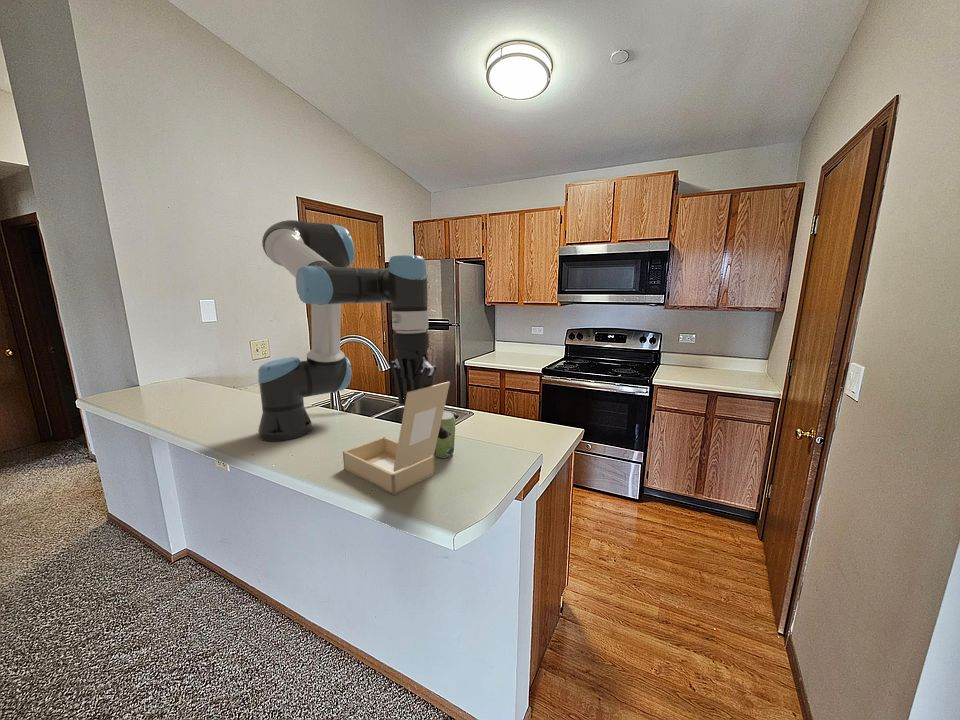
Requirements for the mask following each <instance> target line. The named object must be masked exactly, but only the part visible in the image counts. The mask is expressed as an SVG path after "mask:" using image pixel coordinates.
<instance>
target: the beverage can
mask: <svg viewBox="0 0 960 720" xmlns="http://www.w3.org/2000/svg"><path fill="white" fill-rule="evenodd" d="M454 415H455V414H454V413H453V412H451V411H448V410H444V412H443V416H442V421H441V425H440V430H439V434H438V439H437V443H436V448H435V452H434V454H433V456H435V457H437V458H442V459H444V458H449V457H450V456H452V455H453V454H454V452H455V439H456V438H455V436H456V435H455V434H456V418H455V416H454Z"/></svg>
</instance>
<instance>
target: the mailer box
mask: <svg viewBox="0 0 960 720" xmlns="http://www.w3.org/2000/svg"><path fill="white" fill-rule="evenodd" d="M397 447H398V441H396V440H394V439H391V438H388V437H386V436H383V437H380V438H378V439H377V438H376V439H374V440H372V441H369V442H365V443H363V444H360V445H358V446H357V445H356V446H354V447H352V448H349V449H346V450H343V451H342V459H343V469H344V470H345V471H347V472H349V473H351V474H353V475H355V476H356V477H359V478H360V479H362V480H365V481H366V482H367V483H370V484H372V485H374V486H375V487H377V488H379V489H381V490H383V491H385V492H387V493H389V494H390V495H393V496H395V495H397V494H399V493H401V492H403V491H405V490H406V489H409V488H410V487H413V486H415V485H417V484H419V483H421V482H423V481H424V480H426V479H428V478H430V477H433V476H435V475H436V456H435V455H434V454H433V455H431V456H429V457H427V458H424V459H422V460H420V461H418V462H416V463H413V464H411V465H409V466H407V467H404V468H402V469H400V470H398V471H395V472H394V471H393V470H394V464H395V458H396V453H397Z"/></svg>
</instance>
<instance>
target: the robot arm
mask: <svg viewBox="0 0 960 720" xmlns="http://www.w3.org/2000/svg"><path fill="white" fill-rule="evenodd" d="M261 244H262V245H261V246H262V249H263V251H264V253H265V255H266V257H268V258H269V259H270V260H271V261H272V262H273V263H274V264H276V265H278V266H281V267H283V268H284V269H285V270H287V271H288V272H289V273H290V274H291V275H292V276H293V277H294V278H295V288H296V293H297V295H298V298H299V299H300V301H301V302H303V303H304V304H306V305H310V308H311V349H310V350H309V351H308V352H307V353H306V360H301V359H300V358H299V357H296V356H295V357H293V356H292V357H284V358H279V359H274V360H271V361H268V362H265V363H263V364H262V365H260V366H259V368H258V380H257V381H258V385H259V393H260V400H261V407H262V413H261V418H260V422H259V425H258V430H257V431H258V438H259V439H260V438H261V439H262V440H261V439H260V440H261V441H265V440H267V441H266V442H279V441H280V442H281V441H287V440H293V439H296V438H300V437H303V436H305V435H307V434H309V433H310V432H311V431H312V429H313V423H312V420H311V417H310V415H309V414H308V412H307V410H306V408H305V402H304V398H307V397H315V396H319V395H324V394H330V393H332V394H335V393H337V392H341V391H344V390H346V388H348V386H350V383H351V379H352V367H351V366H352V364H351V361H350V360H349V358H348V357H347V356H346V355H345V352H343V350H341V322H342V318H341V315H342V313H341V312H342V304H343V305H345V304H375V303H377V304H378V303H379V304H386V303H390V308H391V324H392V330H393V331H395V332H393V334H392V346H393V348H392V349H393V350H394V351H396V352H397V353H396V359H394V360H391V361H389V366H390V368H391V371H392V375H393V380H394V385H395V390H396V396H397V400H398V403H399V404H400V405H403V407H404V408H405V402H406V397H407V392H410V391H414V390H418V389H422V388H425V387H429V386H433V381H434V376H435V374H436V372H437V366H436V365H432V364H430V363H429V358H428V356H427V355H428V354H427V350H428V349H429V348H430V337H429V336H430V335H429V334H430V333H429V332H428V331H427V330H428V329H429V311H428V273H427V267H426V265H427V264H426V260H425V258H424V257H423V256H420V255H413V254H409V255H408V254H407V255H406V254H405V255H404V254H402V255H399V254H398V255H392V256H391V257H390V258H389V259H388V260H389V261H388V267H387V268H376V267H373V268H369V267H350V266H352V265H353V264H354V261H355V259H356V258H355V257H356V256H355V255H356V252H355V251H356V250H355V245H354V241H353V238H352V236H351V233H350V231H348V229H347V228H346V227H344V226H342V225H338V224H333V223H322V222H312V221H311V222H309V221H302V220H293V219H290V220H288V219H287V220H282V221H279V222H276V223H274V224H272V225H271V226H269V227H268V228H267V229H266V231H265V232H264V234H263V236H262V239H261ZM308 432H309V433H308Z"/></svg>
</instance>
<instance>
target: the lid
mask: <svg viewBox="0 0 960 720" xmlns="http://www.w3.org/2000/svg"><path fill="white" fill-rule="evenodd" d="M450 385H451V382H450V381H446V382H441V383H438V384H434V385H433V384H432V386H429V387H425V388H422V389H418V390H414V391H410V392H407V397H406V402H405V407H404V409H403V415H402V418H401V419H402V420H401V425H400V432H399V438H398V441H397V442H398V447H397V453H396V458H395V464H394V470H393V471H394V472H395V471H398V470H400V469H402V468H404V467H407V466H409V465H411V464H413V463H416V462H418V461H420V460H422V459H424V458H427V457H429V456H431V455H433V456H434V452H435V448H436V443H437V439H438V434H439V430H440V425H441V421H442V416H443V412H444V411H445V406H446V402H447V397H448V393H449V389H450Z"/></svg>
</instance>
